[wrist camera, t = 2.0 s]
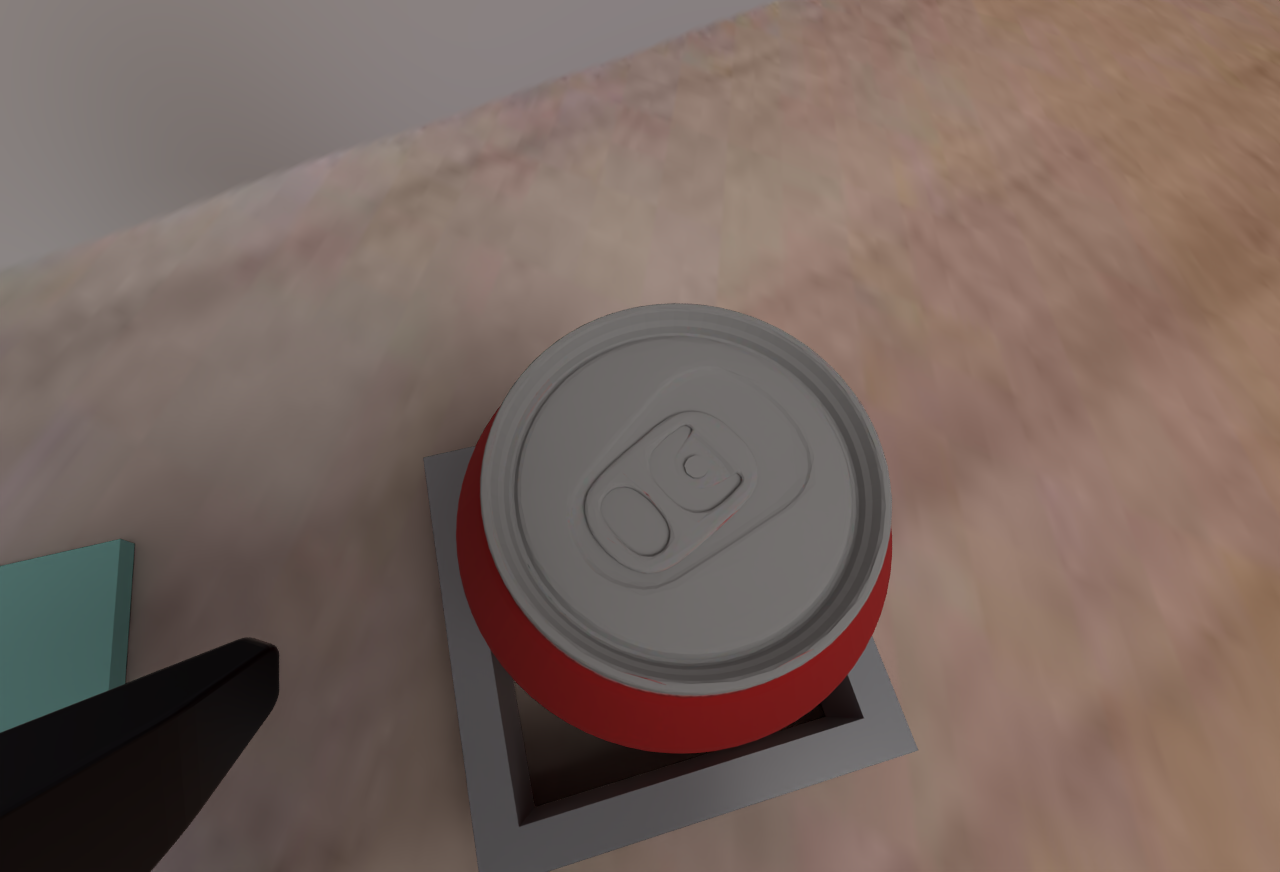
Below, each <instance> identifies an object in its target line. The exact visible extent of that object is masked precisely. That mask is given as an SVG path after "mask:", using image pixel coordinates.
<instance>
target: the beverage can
mask: <svg viewBox="0 0 1280 872" xmlns="http://www.w3.org/2000/svg"><path fill="white" fill-rule="evenodd" d="M891 517H892V495H891V487H890V479H889V473H888V467H887V463H886V459H885V456H884V452H883V449H882V446H881V444H880V441H879V438H878V435H877V433H876V430H875V428H874V426H873V424H872V422H871V420H870V418H869V416H868V415H867V413H866V411H865V409H864V408H863V406H862V404H861V403H860V401H859V400H858V398H857V397H856V395H855V394H854V392H853V391H852V390H851V389H850V387H849V386H848V385H847V384H846V382H845V381H844V380H843V379H842V377H841V376H840V375H839V374H838V373H837V372H836V371H835V370H834V369H833V368H832V367H831V366H830V365H829V364H828V363H827V362H826V361H825V360H824V359H822V358H821V357H820V356H819V355H818V354H817V353H815V352H814V351H813V350H812V349H810V348H809V347H808V346H806V345H805V344H803V343H802V342H800V341H799V340H797V339H796V338H794V337H793V336H791V335H789V334H788V333H786V332H784V331H783V330H781V329H779V328H777V327H775V326H773V325H770V324H768V323H766V322H764V321H762V320H759V319H757V318H754V317H752V316H748V315H745V314H742V313H739V312H736V311H732V310H728V309H724V308H719V307H713V306H706V305H698V304H676V303H672V304H656V305H648V306H641V307H636V308H631V309H626V310H623V311H619V312H616V313H612V314H609V315H606V316H604V317H601V318H598V319H596V320H594V321H592V322H589V323H587V324H585V325H583V326H581V327H579V328H577V329H576V330H574V331H572V332H571V333H569V334H567V335H566V336H564V337H563V338H561V339H559V340H558V341H556V342H555V343H554V344H553V345H551V346H550V347H549V348H548V349H546V350H545V351H544V352H543V353H542V354H541V355H540V356H539V357H537V358H536V359H535V360H534V361H533V362H532V363H531V364H530V365H529V367H528V368H527V369H526V370H525V371H524V372H523V374H522V375H521V376H520V377H519V379H518V380H517V381H516V382H515V384H514V385H513V386H512V388H511V389H510V391H509V393H508V394H507V396H506V398H505V399H504V401H503V403H502V404H501V406H500V407H499V408H498V410H497V411H496V412H495V414H494V415H493V417H492V418H491V420H490V421H489V423H488V424H487V426H486V428H485V429H484V431H483V433H482V435H481V437H480V439H479V440H478V442H477V444H476V447H475V449H474V451H473V454H472V456H471V459H470V461H469V464H468V467H467V470H466V473H465V476H464V479H463V483H462V488H461V492H460V497H459V503H458V511H457V522H456V544H457V558H458V564H459V571H460V576H461V581H462V585H463V589H464V593H465V596H466V599H467V602H468V605H469V607H470V610H471V613H472V615H473V617H474V620H475V622H476V624H477V626H478V628H479V631H480V632H481V634H482V636H483V638H484V639H485V641H486V643H487V645H488V646H489V648H490V650H491V651H492V652H493V654H494V655H495V657H496V658H497V660H498V661H499V662H500V664H501V665H502V666H503V668H504V669H505V670H506V671H507V672H508V673H509V675H510V676H511V677H512V678H513V679H514V680H515V682H516V683H517V684H518V685H519V686H520V687H522V688H523V689H524V690H525V691H526V692H527V693H528V694H529V695H530V696H531V697H532V698H533V699H535V700H536V701H537V702H538V703H540V704H541V705H542V706H543V707H545V708H546V709H547V710H548V711H550V712H551V713H553V714H554V715H556V716H558V717H559V718H561V719H562V720H564V721H565V722H567V723H569V724H571V725H573V726H574V727H576V728H578V729H580V730H582V731H584V732H586V733H588V734H591V735H593V736H596V737H598V738H601V739H603V740H606V741H609V742H612V743H616V744H619V745H622V746H626V747H630V748H635V749H640V750H645V751H651V752H662V753H701V752H710V751H717V750H722V749H727V748H732V747H737V746H740V745H743V744H746V743H749V742H753V741H756V740H758V739H761V738H763V737H766V736H768V735H770V734H773V733H775V732H777V731H779V730H781V729H782V728H784V727H786V726H788V725H790V724H792V723H793V722H795V721H797V720H798V719H799V718H801V717H802V716H804V715H805V714H807V713H808V712H810V711H811V710H812V709H814V708H815V707H816V706H817V705H818V704H819V703H821V702H822V701H823V700H824V699H825V698H827V697H828V696H829V695H830V694H831V693H832V692H833V690H834V689H835V688H836V687H837V686H838V685H839V684H840V683H841V682H842V681H843V680H844V678H845V677H846V676H847V675H848V673H849V672H850V671H851V670H852V668H853V667H854V666H855V664H856V663H857V661H858V659H859V658H860V656H861V655H862V653H863V652H864V650H865V648H866V646H867V644H868V642H869V640H870V638H871V636H872V634H873V632H874V630H875V627H876V625H877V622H878V620H879V617H880V615H881V612H882V608H883V605H884V601H885V598H886V594H887V589H888V583H889V578H890V571H891V560H892V531H891Z"/></svg>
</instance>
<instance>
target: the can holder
mask: <svg viewBox="0 0 1280 872" xmlns="http://www.w3.org/2000/svg"><path fill="white" fill-rule="evenodd" d="M475 447H476V446H473V447H469V448H464V449H460V450H455V451H451V452H446V453H442V454H437V455H433V456H428V457H424V458H423V459H424V467H425V474H426V482H427V489H428V497H429V504H430V512H431V519H432V527H433V534H434V542H435V549H436V556H437V564H438V571H439V579H440V586H441V594H442V601H443V609H444V616H445V624H446V631H447V639H448V646H449V653H450V661H451V668H452V676H453V683H454V691H455V698H456V706H457V713H458V721H459V728H460V736H461V743H462V750H463V758H464V765H465V773H466V780H467V788H468V795H469V803H470V810H471V818H472V825H473V833H474V840H475V847H476V855H477V862H478V870H479V872H548V871H551V870H554V869H557V868H560V867H563V866H567V865H570V864H573V863H576V862H579V861H582V860H585V859H588V858H591V857H594V856H597V855H600V854H603V853H606V852H609V851H612V850H615V849H618V848H621V847H625V846H628V845H631V844H634V843H637V842H640V841H643V840H646V839H649V838H652V837H655V836H658V835H661V834H664V833H667V832H670V831H673V830H676V829H680V828H683V827H686V826H689V825H692V824H695V823H698V822H701V821H704V820H707V819H710V818H713V817H716V816H719V815H722V814H725V813H728V812H731V811H735V810H738V809H741V808H744V807H747V806H750V805H753V804H756V803H759V802H762V801H765V800H768V799H771V798H774V797H777V796H780V795H783V794H786V793H789V792H793V791H796V790H799V789H802V788H805V787H808V786H811V785H814V784H817V783H820V782H823V781H826V780H829V779H832V778H835V777H838V776H841V775H844V774H848V773H851V772H854V771H857V770H860V769H863V768H866V767H869V766H872V765H875V764H878V763H881V762H884V761H887V760H890V759H893V758H896V757H899V756H903V755H906V754H909V753H912V752H915V751H918V748H917V746H916V743H915V741H914V738H913V736H912V733H911V731H910V729H909V726H908V724H907V721H906V719H905V716H904V714H903V711H902V709H901V706H900V704H899V701H898V699H897V696H896V694H895V691H894V689H893V686H892V684H891V681H890V679H889V676H888V674H887V672H886V669H885V667H884V664H883V662H882V659H881V657H880V654H879V652H878V649H877V647H876V644H875V642H874V639H873V637H872V636H871V638H870V640H869V642H868V644H867V646H866V648H865V650H864V652H863V653H862V655H861V656H860V658H859V659H858V661H857V663H856V664H855V666H854V667H853V668H852V670H851V671H850V672H849V673H848V675H847V676H846V677H845V678H844V680H843V681H842V682H841V683H840V684H839V685H838V686H837V687H836V688H835V689H834V690H833V692H832V693H831V694H830V695H829V696H828V697H827V698H825V699H824V700H823V701H822V702H821V705H822V708H823V711H824V714H825V716H826V717H823V718H820V719H816V720H813V721H810V722H807V723H804V724H800V725H797V726H794V727H791V728H788V729H784V730H781V731H778V732H775V733H773V734H770V735H768V736H766V737H763V738H761V739H758V740H756V741H753V742H749V743H746V744H743V745H740V746H737V747H732V748H727V749H722V750H717V751H714V752H710V753H707V754H704V755H701V756H698V757H694V758H691V759H688V760H685V761H682V762H678V763H675V764H672V765H669V766H666V767H662V768H659V769H656V770H653V771H649V772H646V773H643V774H640V775H637V776H633V777H630V778H627V779H624V780H621V781H617V782H614V783H611V784H608V785H604V786H601V787H598V788H595V789H592V790H588V791H585V792H582V793H579V794H576V795H572V796H569V797H566V798H563V799H560V800H556V801H553V802H550V803H547V804H543V805H540V806H537V807H535V806H534V800H533V794H532V788H531V782H530V776H529V771H528V765H527V759H526V753H525V747H524V741H523V736H522V730H521V724H520V718H519V712H518V706H517V700H516V695H515V689H514V683H513V678H512V677H511V676H510V675H509V673H508V672H507V671H506V670H505V669H504V668H503V666H502V665H501V664H500V662H499V661H498V660H497V658H496V657H495V655H494V654H493V652H492V651H491V650H490V648H489V646H488V645H487V643H486V641H485V639H484V638H483V636H482V634H481V632H480V631H479V628H478V626H477V624H476V622H475V620H474V617H473V615H472V613H471V610H470V607H469V605H468V602H467V599H466V596H465V593H464V589H463V585H462V581H461V576H460V571H459V564H458V558H457V544H456V522H457V511H458V503H459V497H460V492H461V488H462V483H463V479H464V476H465V473H466V470H467V467H468V464H469V461H470V459H471V456H472V454H473V451H474V449H475Z"/></svg>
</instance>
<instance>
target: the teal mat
mask: <svg viewBox="0 0 1280 872" xmlns="http://www.w3.org/2000/svg"><path fill="white" fill-rule="evenodd" d="M134 545H135V544H134V543H131V542H128V541H125V540H122V539H118V540H113V541H109V542H105V543H100V544H96V545H91V546H87V547H82V548H78V549H74V550H69V551H65V552H60V553H56V554H52V555H47V556H43V557H38V558H34V559H29V560H25V561H21V562H16V563H12V564H7V565H3V566H0V733H1V732H3V731H6V730H8V729H11V728H13V727H16V726H18V725H21V724H24V723H26V722H29V721H31V720H34V719H36V718H39V717H41V716H44V715H47V714H49V713H52V712H54V711H57V710H59V709H62V708H64V707H67V706H70V705H72V704H75V703H77V702H80V701H82V700H85V699H87V698H90V697H93V696H95V695H98V694H100V693H103V692H105V691H108V690H110V689H113V688H116V687H118V686H121V685H123V684H125V677H126V663H127V648H128V633H129V619H130V604H131V589H132V575H133V560H134Z"/></svg>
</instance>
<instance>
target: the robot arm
mask: <svg viewBox="0 0 1280 872" xmlns="http://www.w3.org/2000/svg"><path fill="white" fill-rule="evenodd" d="M278 695H279V651H278V649H277V647H276V646H275V645H273V644H270V643H267V642H264V641H261V640H258V639H255V638H242V639H238V640H236V641H233V642H231V643H228V644H225V645H223V646H220V647H218V648H215V649H213V650H210V651H208V652H205V653H202V654H200V655H197V656H195V657H192V658H190V659H187V660H185V661H182V662H179V663H177V664H174V665H172V666H169V667H167V668H164V669H162V670H159V671H156V672H154V673H151V674H149V675H146V676H144V677H141V678H139V679H136V680H133V681H131V682H128V683H126V684H123V685H121V686H118V687H116V688H113V689H110V690H108V691H105V692H103V693H100V694H98V695H95V696H93V697H90V698H87V699H85V700H82V701H80V702H77V703H75V704H72V705H70V706H67V707H64V708H62V709H59V710H57V711H54V712H52V713H49V714H47V715H44V716H41V717H39V718H36V719H34V720H31V721H29V722H26V723H24V724H21V725H18V726H16V727H13V728H11V729H8V730H6V731H3V732H1V733H0V872H151V870H152V869H153V868H154V867H155V866H156V864H157V863H158V862H159V861H160V860H161V859H162V857H163V856H164V855H165V854H166V853H167V852H168V850H169V849H170V848H171V847H172V846H173V844H174V843H175V842H176V841H177V840H178V838H179V837H180V836H181V835H182V833H183V832H184V831H185V830H186V829H187V827H188V826H189V825H190V823H191V822H192V821H193V819H194V818H195V817H196V815H197V814H198V813H199V811H200V810H201V809H202V807H203V806H204V805H205V803H206V802H207V800H208V799H209V798H210V796H211V795H212V793H213V792H214V791H215V789H216V788H217V786H218V785H219V784H220V782H221V781H222V779H223V778H224V777H225V775H226V774H227V773H228V771H229V770H230V768H231V767H232V766H233V764H234V763H235V761H236V760H237V759H238V757H239V756H240V754H241V753H242V752H243V750H244V749H245V747H246V746H247V745H248V743H249V742H250V740H251V739H252V738H253V736H254V735H255V733H256V732H257V731H258V729H259V728H260V727H261V725H262V724H263V722H264V721H265V720H266V718H267V717H268V715H269V714H270V712H271V711H272V709H273V707H274V706H275V704H276V701H277V698H278Z"/></svg>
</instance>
